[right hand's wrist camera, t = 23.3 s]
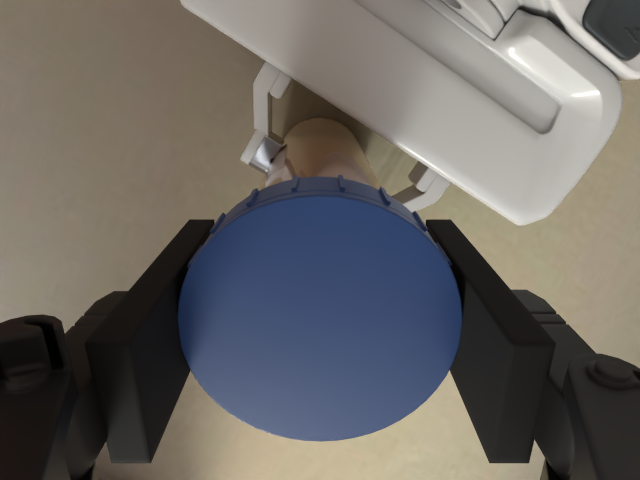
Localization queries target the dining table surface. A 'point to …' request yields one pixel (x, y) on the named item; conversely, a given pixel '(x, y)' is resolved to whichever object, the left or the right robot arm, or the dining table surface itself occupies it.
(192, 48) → the dining table surface
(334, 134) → the jar
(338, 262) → the lid
